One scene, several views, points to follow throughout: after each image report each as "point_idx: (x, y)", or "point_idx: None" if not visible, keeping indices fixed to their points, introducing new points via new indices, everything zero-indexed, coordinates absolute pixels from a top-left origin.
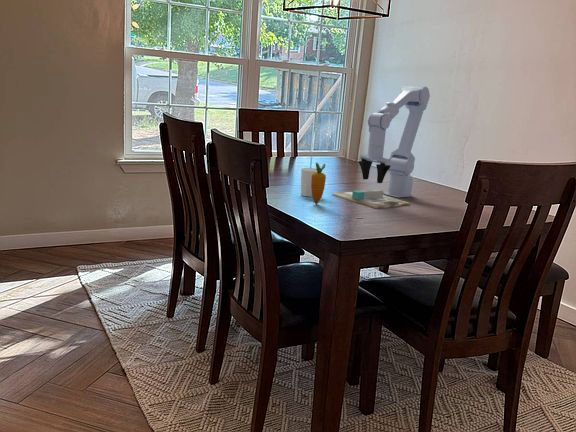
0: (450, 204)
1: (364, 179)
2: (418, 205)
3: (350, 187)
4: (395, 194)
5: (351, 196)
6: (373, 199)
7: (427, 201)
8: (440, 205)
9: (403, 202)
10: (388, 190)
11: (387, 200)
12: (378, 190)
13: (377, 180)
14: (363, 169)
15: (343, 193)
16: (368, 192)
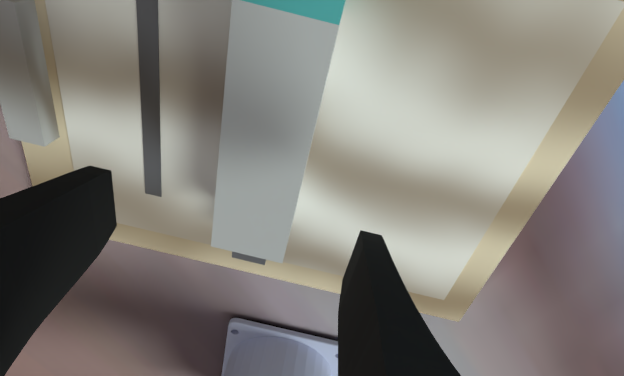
0: (34, 368)
1: (359, 236)
2: None
3: (611, 366)
4: (255, 343)
5: (422, 3)
6: (213, 87)
7: (113, 353)
8: None
9: None
10: (312, 368)
11: (142, 158)
12: (235, 224)
13: (79, 179)
14: (381, 341)
15: (563, 66)
16: (228, 69)
